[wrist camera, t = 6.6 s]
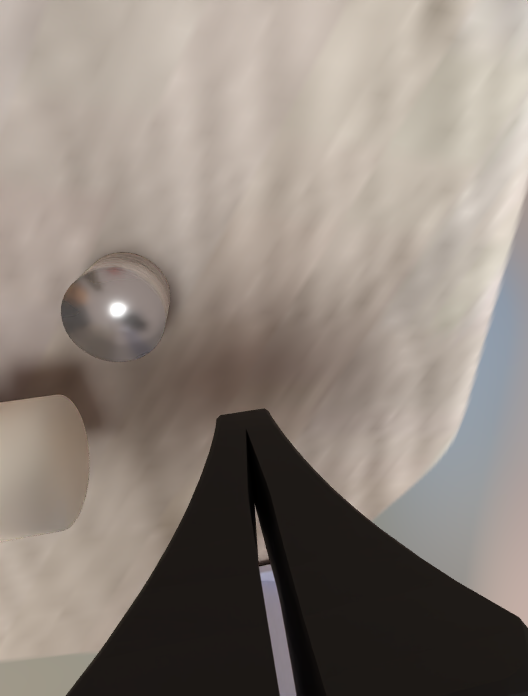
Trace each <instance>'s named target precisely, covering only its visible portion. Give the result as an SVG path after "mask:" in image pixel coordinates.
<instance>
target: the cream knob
mask: <svg viewBox="0 0 528 696" xmlns="http://www.w3.org/2000/svg"><path fill="white" fill-rule="evenodd" d="M88 480H89V447H88V440H87V435H86V430H85V426H84V423H83V420H82V418H81V415H80V413H79V411H78V409H77V407H76V406H75V404H74V403H73V402H72V401H71V400H70V399H69V398H68V397H66V396H64V395H50V396H43V397H36V398H29V399H22V400H15V401H8V402H0V542H4V541H9V540H15V539H20V538H26V537H31V536H37V535H42V534H48V533H53V532H59V531H64V530H66V529H68V528H69V527H70V526H72V524H73V523H74V522H75V521H76V519H77V518H78V516H79V514H80V512H81V509H82V507H83V504H84V501H85V497H86V493H87V487H88Z"/></svg>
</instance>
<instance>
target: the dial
mask: <svg viewBox="0 0 528 696" xmlns="http://www.w3.org/2000/svg"><path fill="white" fill-rule="evenodd" d="M169 304H170V288H169V284H168V282H167V279H166V277H165V276H164V274H163V273H162V271H161V270H160V269H159V268H158V267H157V266H156V265H155V264H154V263H153V262H151V261H150V260H148V259H147V258H144V257H142V256H140V255H137V254H133V253H126V252H120V253H113V254H109V255H106V256H104V257H102V258H101V259H99V260H98V261H96V262H95V263H94V264H93V265H92V266H91V267H90V268H89V269H88V270H87V271H86V272H85V273H84V274H82V275H81V276H80V277H79V278H78V279H77V280H76V281H75V282H74V283H73V284H72V285H71V286H70V287H69V289H68V290H67V292H66V293H65V295H64V298H63V301H62V306H61V316H62V321H63V325H64V327H65V330H66V332H67V333H68V335H69V337H70V338H71V339H72V341H73V342H74V343H75V344H76V345H77V346H78V347H79V348H81V349H82V350H83V351H85V352H86V353H88V354H90V355H92V356H94V357H96V358H99V359H102V360H106V361H112V362H126V361H131V360H135V359H138V358H140V357H143V356H145V355H146V354H148V353H149V352H150V351H152V350H153V349H154V348H155V347H156V346H157V344H158V343H159V341H160V340H161V338H162V335H163V332H164V329H165V324H166V319H167V314H168V309H169Z"/></svg>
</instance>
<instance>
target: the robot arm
mask: <svg viewBox="0 0 528 696" xmlns="http://www.w3.org/2000/svg"><path fill="white" fill-rule="evenodd" d="M255 507H256V510H257V514H258V518H259V522H260V526H261V530H262V533H263V537H264V541H265V545H266V549H267V552H268V556H269V560H270V564H269V565H264V566H259V564H258V549H257V533H256V518H255ZM66 696H528V628H527V626H526V625H525V624H524V623H523V622H522V621H521V619H520V618H519V617H517V616H516V615H514V614H512V613H510V612H509V611H507V610H505V609H504V608H502V607H500V606H498V605H497V604H495V603H493V602H491V601H490V600H488V599H486V598H485V597H483V596H481V595H479V594H478V593H476V592H474V591H472V590H471V589H469V588H467V587H465V586H464V585H462V584H460V583H459V582H457V581H455V580H454V579H452V578H451V577H449V576H448V575H446V574H445V573H443V572H441V571H440V570H438V569H437V568H435V567H434V566H432V565H431V564H429V563H428V562H426V561H425V560H423V559H422V558H420V557H419V556H417V555H416V554H415V553H413V552H412V551H410V550H409V549H408V548H406V547H405V546H404V545H402V544H401V543H399V542H398V541H397V540H395V539H394V538H392V537H391V536H389V535H388V534H387V533H385V532H384V531H383V530H381V529H380V528H379V527H377V526H376V525H375V524H374V523H372V522H371V521H370V520H369V519H367V518H366V517H365V516H364V515H363V514H361V513H360V512H359V511H358V510H356V509H355V508H354V507H353V506H352V505H351V504H350V503H348V502H347V501H346V500H345V499H344V498H343V497H342V496H341V495H339V494H338V493H337V492H336V491H335V490H334V489H333V488H332V487H331V486H330V485H329V484H328V483H327V482H326V481H325V480H324V479H323V478H322V477H321V476H320V475H319V474H318V473H317V472H316V471H315V470H314V469H313V468H312V467H311V466H310V465H309V464H308V462H307V461H306V460H305V459H304V458H303V457H302V456H301V454H300V453H299V452H298V451H297V450H296V449H295V447H294V446H293V445H292V444H291V443H290V441H289V440H288V439H287V438H286V436H285V435H284V434H283V432H282V431H281V430H280V428H279V427H278V425H277V424H276V423H275V421H274V420H273V418H272V416H271V415H270V413H269V411H267V410H266V409H265V408H264V409H258V410H251V411H245V412H238V413H232V414H225V415H220V416H219V417H218V418H217V419H216V428H215V433H214V437H213V441H212V445H211V448H210V452H209V455H208V458H207V460H206V463H205V466H204V469H203V472H202V475H201V477H200V480H199V482H198V484H197V487H196V489H195V492H194V494H193V496H192V499H191V501H190V503H189V506H188V508H187V510H186V512H185V514H184V516H183V518H182V520H181V522H180V524H179V526H178V528H177V530H176V532H175V534H174V536H173V538H172V539H171V541H170V543H169V545H168V547H167V548H166V550H165V552H164V554H163V555H162V557H161V559H160V560H159V562H158V564H157V566H156V567H155V569H154V571H153V572H152V574H151V576H150V577H149V579H148V581H147V582H146V584H145V585H144V587H143V589H142V590H141V592H140V593H139V595H138V596H137V598H136V599H135V601H134V602H133V604H132V605H131V607H130V608H129V610H128V611H127V612H126V614H125V615H124V617H123V618H122V620H121V621H120V623H119V624H118V626H117V627H116V629H115V630H114V632H113V633H112V634H111V636H110V637H109V639H108V640H107V642H106V643H105V645H104V646H103V647H102V649H101V650H100V651H99V653H98V654H97V656H96V657H95V658H94V660H93V661H92V662H91V664H90V665H89V666H88V667H87V669H86V670H85V671H84V673H83V674H82V675H81V677H80V678H79V679H78V680H77V682H76V683H75V685H74V686H73V687H72V688H71V690H70V691H69V692H68V693H67V695H66Z"/></svg>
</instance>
